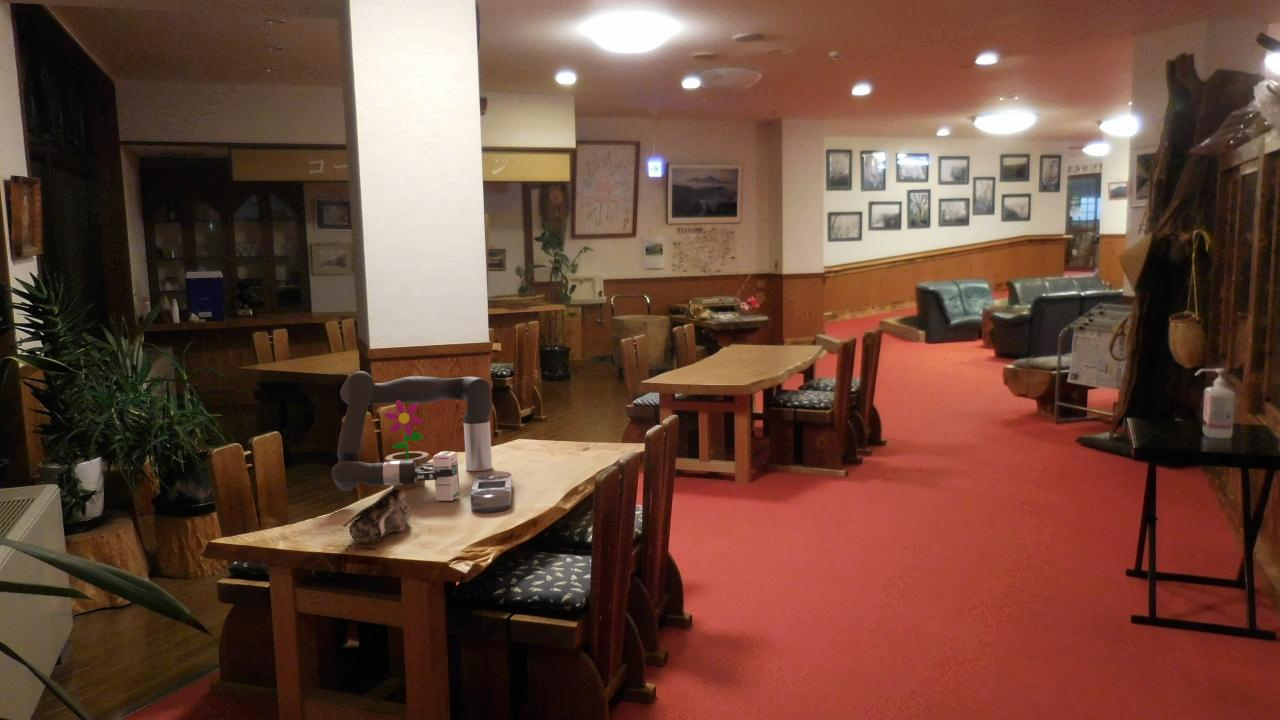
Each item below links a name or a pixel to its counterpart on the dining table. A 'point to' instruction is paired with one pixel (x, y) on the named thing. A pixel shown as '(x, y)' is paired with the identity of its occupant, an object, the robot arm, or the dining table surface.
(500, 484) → the link
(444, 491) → the syrup box
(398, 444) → the flowerpot
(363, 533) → the hollow geode rock
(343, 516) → the dining table surface
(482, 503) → the link
